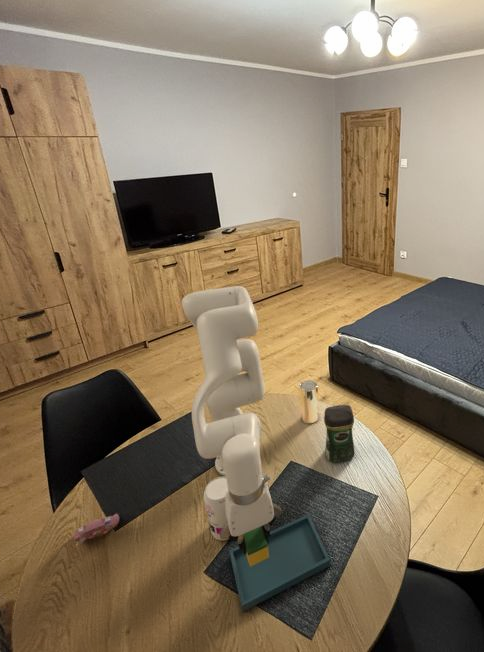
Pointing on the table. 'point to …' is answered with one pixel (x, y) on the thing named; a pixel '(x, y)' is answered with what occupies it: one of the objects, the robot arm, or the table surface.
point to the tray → (280, 562)
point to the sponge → (256, 546)
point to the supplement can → (216, 505)
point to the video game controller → (96, 528)
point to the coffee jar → (339, 433)
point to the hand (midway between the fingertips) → (254, 542)
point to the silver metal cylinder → (309, 400)
